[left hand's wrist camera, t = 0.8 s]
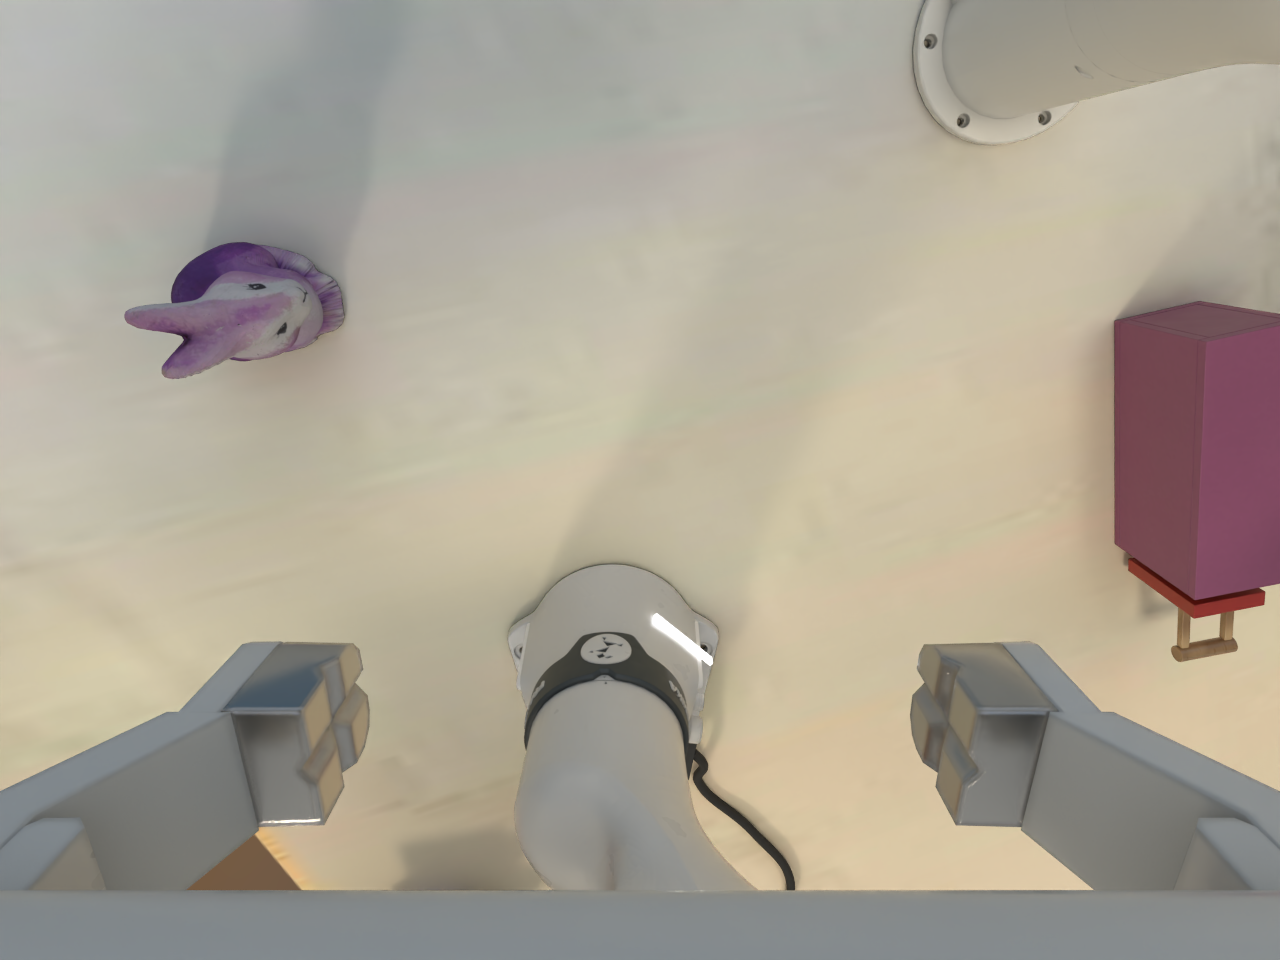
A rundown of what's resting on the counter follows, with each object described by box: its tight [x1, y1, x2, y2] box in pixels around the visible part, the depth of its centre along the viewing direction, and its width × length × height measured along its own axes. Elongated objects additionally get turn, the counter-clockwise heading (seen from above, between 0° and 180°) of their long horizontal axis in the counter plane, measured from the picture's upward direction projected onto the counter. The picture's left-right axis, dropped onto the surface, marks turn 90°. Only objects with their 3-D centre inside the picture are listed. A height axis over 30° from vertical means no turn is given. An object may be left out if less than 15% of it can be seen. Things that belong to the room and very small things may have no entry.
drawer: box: [1128, 558, 1265, 662], centre depth 55 cm, size 24×5×8 cm, turn 13°
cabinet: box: [1115, 301, 1280, 600], centre depth 53 cm, size 19×6×9 cm, turn 13°
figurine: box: [125, 242, 344, 379], centre depth 46 cm, size 9×10×15 cm
